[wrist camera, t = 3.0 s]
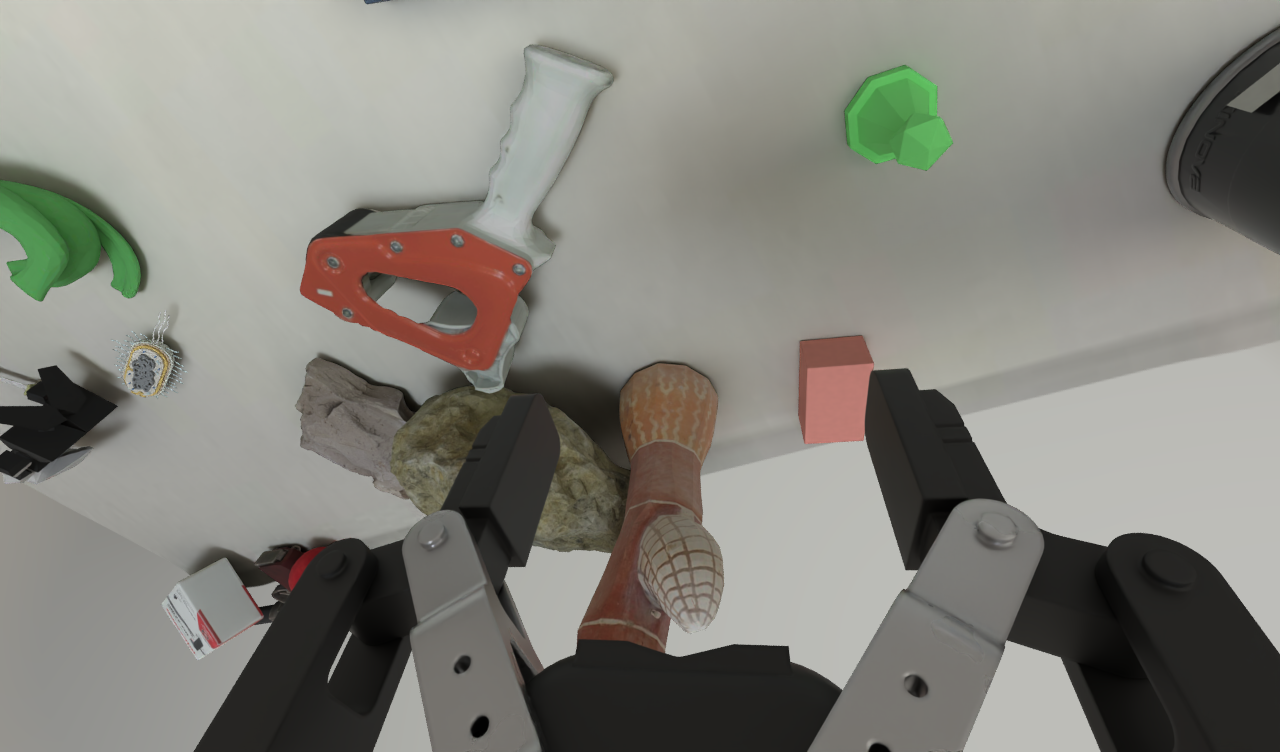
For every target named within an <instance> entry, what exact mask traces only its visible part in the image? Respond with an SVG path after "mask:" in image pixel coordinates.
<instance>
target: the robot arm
mask: <svg viewBox="0 0 1280 752" xmlns="http://www.w3.org/2000/svg"><path fill="white" fill-rule="evenodd" d="M1166 180H1167V184H1168V187H1169V189H1170V192H1171V194H1172V195H1173V197H1174V198H1175V199H1176V200H1177V201H1178V202H1179V203H1180V204H1181V205H1182V206H1184V207H1185V208H1187V209H1189V210H1191V211H1193V212H1195V213H1196V214H1198V215H1200V216H1203V217H1206V218H1209V219H1213V220H1215V221H1217V222H1219V223H1221V224H1223V225H1225V226H1226V227H1228V228H1230V229H1232V230H1234V231H1236V232H1238V233H1240V234H1242V235H1244V236H1245V237H1247V238H1249V239H1250V240H1252V241H1254V242H1256V243H1258V244H1260V245H1262V246H1263V247H1265V248H1267V249H1269V250H1271V251H1273V252H1275V253H1277V254H1279V255H1280V28H1279V29H1278V30H1276V31H1274V32H1273V33H1271V34H1270V35H1268V36H1267V37H1265V38H1263V39H1262V40H1260V41H1259V42H1258V43H1256V44H1255V45H1254V46H1252V47H1251V48H1249V49H1248V50H1247V51H1245V52H1244V53H1243V54H1242V55H1241V56H1239V57H1238V58H1237V59H1236V60H1234V61H1233V62H1232V63H1231V64H1230V65H1229V66H1228V67H1227V68H1225V69H1224V70H1223V71H1222V72H1221V73H1220V74H1219V75H1218V76H1217V77H1216V78H1215V79H1214V80H1213V81H1212V82H1211V83H1210V84H1209V86H1208V87H1207V88H1206V89H1205V90H1204V91H1203V92H1202V93H1201V95H1200V96H1199V97H1198V99H1197V100H1196V101H1195V102H1194V104H1193V105H1192V106H1191V108H1190V109H1189V111H1188V112H1187V114H1186V115H1185V117H1184V118H1183V120H1182V122H1181V124H1180V125H1179V127H1178V129H1177V131H1176V133H1175V135H1174V138H1173V140H1172V143H1171V145H1170V149H1169V152H1168V156H1167V162H1166ZM865 436H866V442H867V445H868V449H869V452H870V455H871V459H872V462H873V465H874V468H875V472H876V475H877V478H878V482H879V484H880V488H881V491H882V495H883V498H884V501H885V504H886V508H887V511H888V514H889V517H890V520H891V524H892V527H893V530H894V534H895V537H896V540H897V543H898V547H899V550H900V553H901V556H902V560H903V563H904V566H905V570H918V571H917V573H916V575H915V576H914V578H913V580H912V582H911V583H910V585H909V587H908V588H907V589H906V590H905V589H903V590H902V591H901V592H900V593H899V595H898V596H897V598H896V599H895V601H894V603H893V604H892V606H891V608H890V610H889V611H888V613H887V615H886V616H885V618H884V620H883V621H882V623H881V625H880V627H879V628H878V630H877V632H876V634H875V635H874V637H873V639H872V641H871V642H870V644H869V646H868V648H867V649H866V651H865V653H864V655H863V656H862V658H861V660H860V661H859V663H858V665H857V667H856V669H855V670H854V672H853V673H852V676H851V677H850V679H849V680H848V682H847V684H846V686H845V687H844V689H843V690H842V689H840V688H839V687H838V686H836V685H835V684H834V683H832V682H831V681H830V680H828V679H827V678H825V677H823V676H822V675H820V674H818V673H817V672H815V671H813V670H810V669H808V668H806V667H804V666H801V665H798V664H795V663H792V662H790V656H789V647H788V646H767V645H738V644H733V645H729V646H725V647H721V648H717V649H712V650H708V651H704V652H700V653H696V654H691V655H688V656H683V657H676V656H672V655H669V654H666V653H663V652H660V651H657V650H653V649H650V648H647V647H644V646H641V645H638V644H635V643H632V642H629V641H621V640H592V639H578V644H577V649H576V654H575V655H573V656H570V657H567V658H565V659H562V660H560V661H558V662H556V663H554V664H552V665H550V666H549V667H547V668H545V669H544V668H543V666H542V664H541V662H540V660H539V659H538V657H537V655H536V653H535V651H534V649H533V647H532V645H531V643H530V640H529V638H528V635H527V633H526V630H525V628H524V625H523V623H522V620H521V618H520V615H519V613H518V610H517V608H516V606H515V603H514V601H513V598H512V596H511V593H510V591H509V588H508V586H507V584H506V582H505V580H504V578H505V575H506V572H507V569H508V567H525V566H526V563H527V560H528V556H529V553H530V550H531V547H532V544H533V540H534V537H535V534H536V531H537V527H538V524H539V521H540V518H541V515H542V511H543V508H544V505H545V502H546V498H547V495H548V492H549V489H550V486H551V482H552V479H553V476H554V473H555V469H556V466H557V463H558V460H559V456H560V438H559V434H558V431H557V429H556V426H555V424H554V421H553V419H552V416H551V414H550V411H549V409H548V406H547V404H546V402H545V399H544V397H543V396H542V395H541V394H540V393H535V394H521V395H512V396H510V398H509V399H508V401H507V403H506V405H505V407H504V410H503V412H502V414H501V415H497V416H493V417H492V418H491V419H490V420H489V421H488V422H487V423H486V424H485V425H484V426H483V427H482V428H481V429H480V431H479V433H478V435H477V437H476V439H475V441H474V443H473V445H472V449H470V451H469V453H468V455H467V457H466V462H464V463H463V465H462V467H461V469H460V471H459V473H458V475H457V477H456V479H455V481H454V483H453V485H452V487H451V489H450V491H449V493H448V495H447V497H446V499H445V501H444V503H443V505H442V507H441V509H440V511H437V512H434V513H432V514H430V515H428V516H426V517H424V518H423V519H421V520H420V521H419V522H417V523H416V524H415V525H414V526H413V527H412V529H411V530H410V531H409V532H408V534H407V535H406V537H405V539H403V540H400V541H397V542H394V543H391V544H388V545H384V546H381V547H378V548H375V549H371V550H370V549H369V548H368V547H367V546H366V545H365V544H364V543H363V542H362V541H361V540H359V539H355V538H348V539H343V540H340V541H337V542H335V543H333V544H331V545H329V546H327V547H326V548H325V549H323V550H322V551H321V552H319V553H318V554H317V555H316V556H315V557H314V558H313V559H312V560H311V561H310V563H309V564H308V565H307V567H306V568H305V570H304V572H303V573H302V575H301V577H300V578H299V580H298V582H297V583H296V585H295V586H294V588H293V590H292V591H291V593H290V595H289V596H288V598H287V600H286V601H285V603H284V604H283V606H282V608H281V609H280V611H279V613H278V614H277V616H276V618H275V619H274V621H273V622H272V624H271V626H270V627H269V629H268V631H267V632H266V634H265V636H264V637H263V639H262V640H261V642H260V644H259V645H258V647H257V649H256V651H255V652H254V654H253V655H252V657H251V658H250V660H249V662H248V663H247V665H246V667H245V668H244V670H243V672H242V673H241V675H240V677H239V678H238V680H237V681H236V683H235V685H234V686H233V688H232V690H231V691H230V693H229V695H228V696H227V698H226V700H225V701H224V703H223V705H222V706H221V708H220V709H219V711H218V713H217V714H216V716H215V718H214V719H213V721H212V723H211V724H210V726H209V727H208V729H207V731H206V732H205V734H204V736H203V737H202V739H201V740H200V742H199V744H198V745H197V747H196V749H195V750H194V752H373V749H374V747H375V744H376V742H377V739H378V737H379V734H380V731H381V729H382V726H383V723H384V721H385V718H386V716H387V713H388V711H389V708H390V705H391V703H392V700H393V697H394V695H395V692H396V690H397V687H398V684H399V682H400V679H401V677H402V674H403V671H404V669H405V666H406V664H407V661H408V658H409V656H410V653H411V651H412V652H413V657H414V662H415V667H416V672H417V677H418V682H419V686H420V692H421V697H422V702H423V706H424V711H425V717H426V721H427V726H428V731H429V736H430V741H431V746H432V751H433V752H963V749H964V747H965V744H966V742H967V740H968V737H969V735H970V732H971V730H972V728H973V725H974V723H975V720H976V718H977V716H978V713H979V711H980V708H981V706H982V704H983V701H984V699H985V696H986V694H987V691H988V689H989V687H990V684H991V682H992V679H993V677H994V675H995V672H996V670H997V667H998V665H999V662H1000V660H1001V657H1002V655H1003V652H1004V649H1005V642H1006V640H1008V641H1011V642H1014V643H1017V644H1020V645H1024V646H1027V647H1030V648H1033V649H1036V650H1039V651H1042V652H1046V653H1049V654H1052V655H1055V656H1058V657H1061V659H1062V661H1063V664H1064V666H1065V668H1066V671H1067V673H1068V675H1069V678H1070V680H1071V682H1072V685H1073V687H1074V689H1075V692H1076V694H1077V697H1078V699H1079V701H1080V704H1081V706H1082V708H1083V711H1084V713H1085V715H1086V718H1087V720H1088V723H1089V725H1090V727H1091V730H1092V732H1093V734H1094V737H1095V739H1096V741H1097V744H1098V746H1099V748H1100V751H1101V752H1280V654H1279V652H1278V651H1277V650H1276V648H1275V647H1274V646H1273V644H1272V643H1271V642H1270V640H1269V639H1268V637H1267V636H1266V635H1265V633H1264V632H1263V631H1262V629H1261V628H1260V626H1259V625H1258V624H1257V622H1256V621H1255V620H1254V618H1253V617H1252V616H1251V614H1250V613H1249V611H1248V610H1247V609H1246V607H1245V606H1244V605H1243V603H1242V602H1241V601H1240V599H1239V598H1238V596H1237V595H1236V594H1235V592H1234V591H1233V590H1232V588H1231V587H1230V586H1229V584H1228V583H1227V581H1226V580H1225V579H1224V577H1223V576H1222V575H1221V573H1220V572H1219V571H1218V570H1217V569H1216V568H1215V567H1214V566H1213V565H1212V564H1211V563H1210V562H1209V561H1208V560H1207V559H1205V558H1204V557H1203V556H1201V555H1200V554H1198V553H1197V552H1195V551H1194V550H1192V549H1190V548H1189V547H1187V546H1185V545H1183V544H1181V543H1179V542H1176V541H1174V540H1171V539H1168V538H1165V537H1162V536H1158V535H1153V534H1145V533H1130V534H1124V535H1121V536H1119V537H1117V538H1115V539H1114V540H1113V541H1112V542H1111V543H1110V544H1109V546H1108V547H1106V546H1101V545H1097V544H1093V543H1088V542H1084V541H1080V540H1076V539H1071V538H1067V537H1063V536H1059V535H1055V534H1052V533H1049V532H1047V531H1044V530H1042V529H1040V528H1038V527H1037V525H1036V524H1035V523H1034V522H1033V521H1032V520H1031V519H1030V518H1029V517H1028V516H1027V515H1026V514H1024V513H1023V512H1021V511H1020V510H1018V509H1017V508H1015V507H1013V506H1011V505H1008V504H1007V503H1006V501H1005V499H1004V498H1003V496H1002V494H1001V492H1000V490H999V489H998V487H997V485H996V483H995V481H994V479H993V477H992V475H991V473H990V471H989V469H988V467H987V466H986V464H985V462H984V460H983V458H982V456H981V454H980V452H979V450H978V449H977V447H976V445H975V443H974V442H972V437H971V435H970V433H969V431H968V430H967V428H966V427H964V422H963V420H962V418H961V416H960V414H959V412H958V410H957V409H956V407H955V405H954V404H953V403H952V402H951V401H949V400H948V399H947V398H946V397H944V396H943V395H942V394H941V393H940V392H938V391H937V390H936V389H933V390H919V389H918V387H917V385H916V383H915V381H914V378H913V376H912V374H911V372H910V371H909V369H907V368H904V369H889V370H875V371H871V373H870V377H869V385H868V394H867V403H866V411H865ZM349 631H350V632H351V633H352V635H351V637H350V639H349V641H348V643H347V645H346V647H345V649H344V651H343V654H342V656H341V658H340V660H339V662H338V664H337V666H336V668H335V670H334V672H333V674H332V676H331V679H330V681H329V683H328V675H329V672H330V669H331V666H332V665H333V663H334V660H335V658H336V656H337V654H338V652H339V650H340V648H341V646H342V644H343V642H344V640H345V638H346V636H347V634H348V632H349Z"/></svg>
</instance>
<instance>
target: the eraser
mask: <svg viewBox="0 0 1280 752" xmlns="http://www.w3.org/2000/svg"><path fill="white" fill-rule="evenodd" d="M873 367H874V362H873V360H872V357H871V355H870V353H869V350H868V348H867V346H866V343H865V341H864V339H863V336H852V337H841V338H830V339H819V340H807V341H800V367H799V413H798V415H799V420H800V425H801V429H802V434H803V439H804V443H805V444H812V443H831V442H848V441H863V440H864V433H865V411H866V403H867V394H868V385H869V377H870V373H871V371H873Z"/></svg>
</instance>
